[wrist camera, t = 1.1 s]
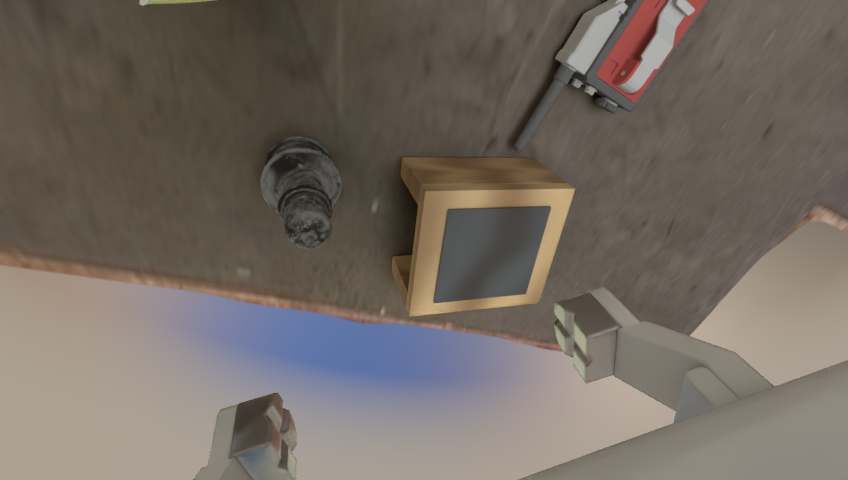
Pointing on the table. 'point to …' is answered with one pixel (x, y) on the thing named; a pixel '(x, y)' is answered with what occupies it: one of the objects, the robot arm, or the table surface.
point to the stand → (479, 232)
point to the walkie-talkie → (618, 53)
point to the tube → (168, 1)
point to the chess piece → (302, 189)
